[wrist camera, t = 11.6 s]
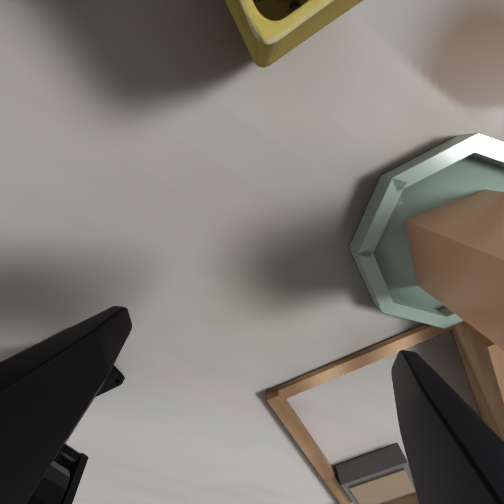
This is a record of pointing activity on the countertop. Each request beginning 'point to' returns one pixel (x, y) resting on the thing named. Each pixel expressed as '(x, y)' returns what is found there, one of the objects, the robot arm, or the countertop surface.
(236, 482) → the countertop surface
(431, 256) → the long pot
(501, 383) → the brown flat frame
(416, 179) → the saucer
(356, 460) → the seed tray
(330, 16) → the flower pot
